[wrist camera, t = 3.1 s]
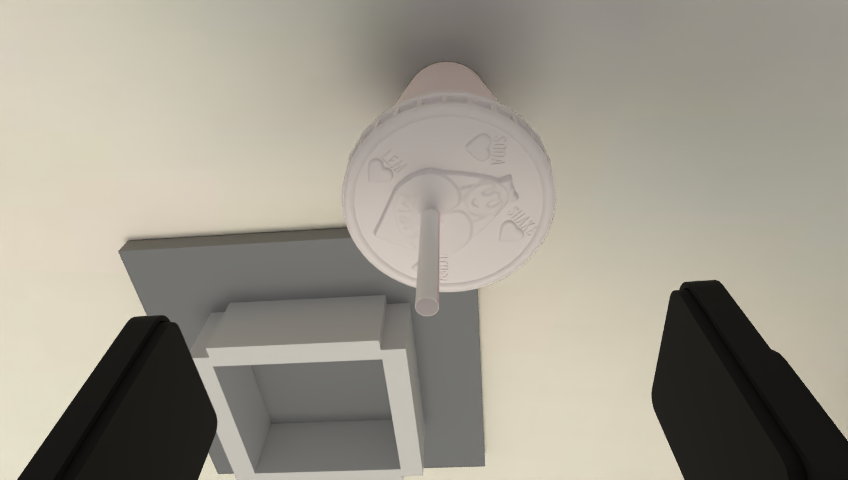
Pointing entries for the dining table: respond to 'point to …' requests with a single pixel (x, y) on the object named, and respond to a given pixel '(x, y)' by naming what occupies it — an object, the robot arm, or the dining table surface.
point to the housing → (317, 356)
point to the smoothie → (448, 187)
